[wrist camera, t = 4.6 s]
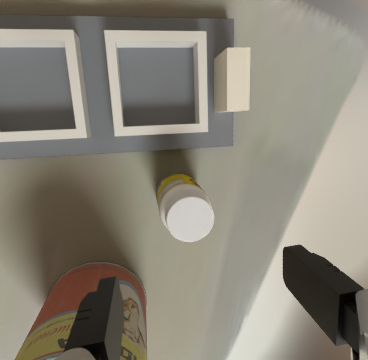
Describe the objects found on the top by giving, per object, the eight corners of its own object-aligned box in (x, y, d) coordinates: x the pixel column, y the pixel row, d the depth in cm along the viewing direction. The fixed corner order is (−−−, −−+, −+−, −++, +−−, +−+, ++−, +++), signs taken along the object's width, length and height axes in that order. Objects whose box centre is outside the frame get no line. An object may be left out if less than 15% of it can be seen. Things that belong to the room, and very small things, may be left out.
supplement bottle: (204, 200, 29) (228, 230, 21) (168, 219, 29) (178, 257, 21) (186, 163, 28) (204, 181, 20) (148, 183, 28) (150, 209, 20)
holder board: (-32, 159, 25) (-79, 170, 19) (-65, 20, 22) (-131, -13, 16) (228, 144, 28) (248, 150, 23) (228, 24, 26) (251, -1, 20)
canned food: (165, 297, 32) (179, 399, 20) (103, 359, 32) (81, 493, 21) (93, 242, 28) (60, 326, 17) (25, 312, 29) (-51, 438, 17)
